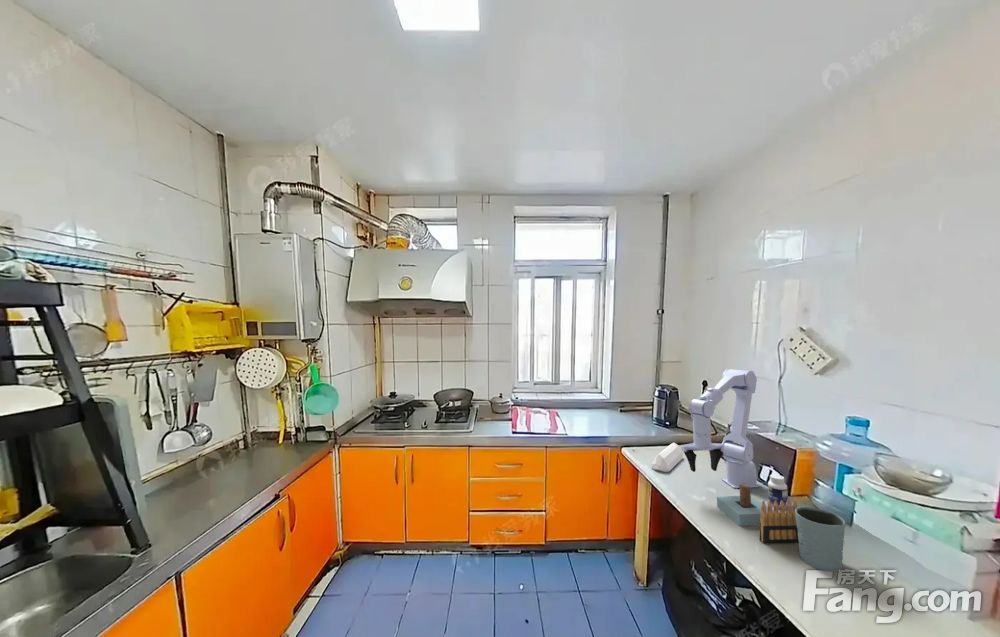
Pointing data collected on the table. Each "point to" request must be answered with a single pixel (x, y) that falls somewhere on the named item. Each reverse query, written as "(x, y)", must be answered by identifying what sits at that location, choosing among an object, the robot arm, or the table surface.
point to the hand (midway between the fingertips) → (703, 470)
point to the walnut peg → (745, 496)
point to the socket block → (741, 510)
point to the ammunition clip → (778, 524)
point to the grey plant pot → (820, 538)
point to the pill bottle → (777, 490)
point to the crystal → (667, 458)
